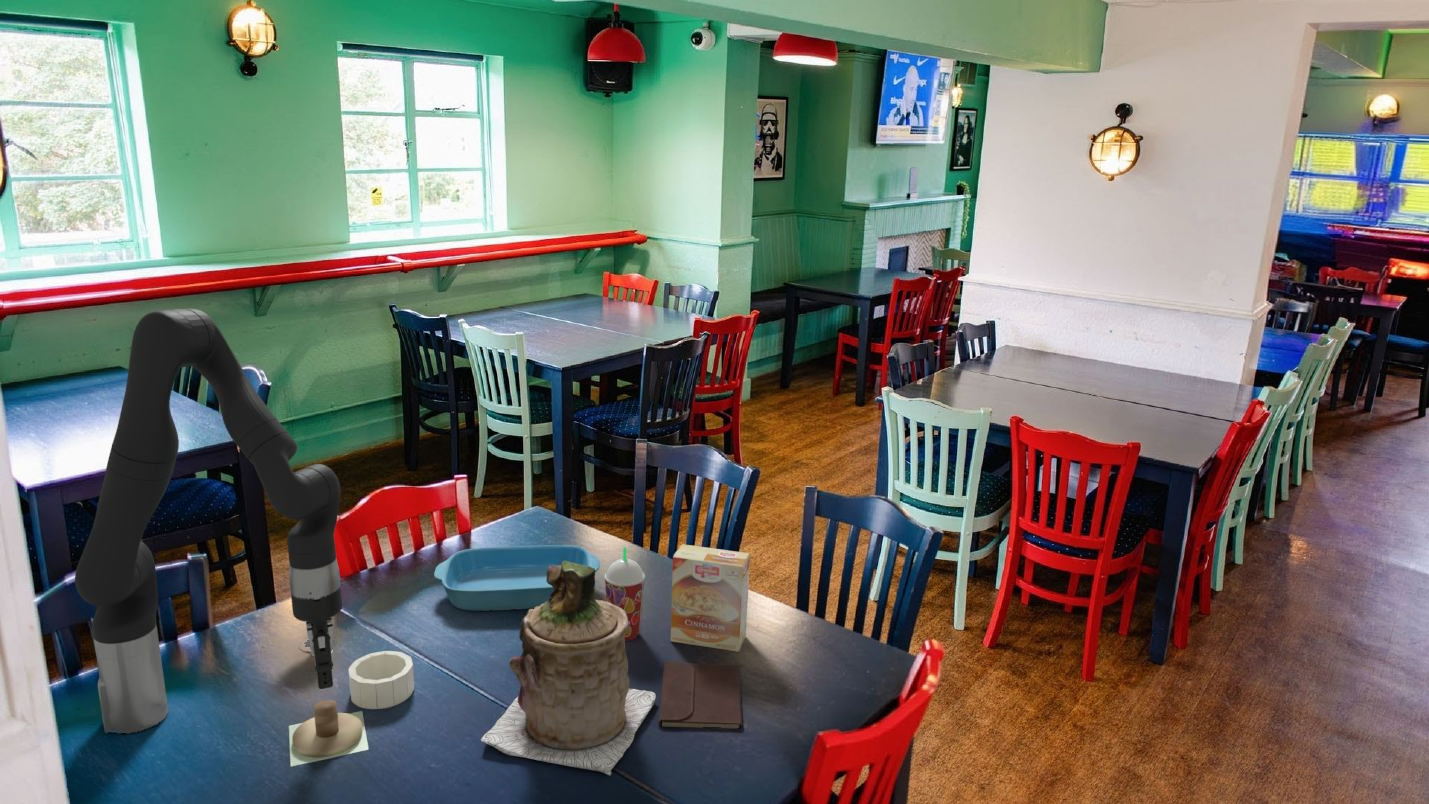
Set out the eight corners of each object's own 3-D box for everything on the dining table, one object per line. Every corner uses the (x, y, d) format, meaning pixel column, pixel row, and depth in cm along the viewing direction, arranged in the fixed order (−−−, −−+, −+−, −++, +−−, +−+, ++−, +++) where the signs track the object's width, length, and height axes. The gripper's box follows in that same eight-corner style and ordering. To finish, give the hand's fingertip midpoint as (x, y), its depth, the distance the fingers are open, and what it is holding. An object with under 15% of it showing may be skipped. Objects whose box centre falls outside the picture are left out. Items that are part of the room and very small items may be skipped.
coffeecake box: (669, 642, 198) (671, 556, 193) (678, 626, 204) (681, 542, 199) (739, 653, 194) (743, 566, 189) (746, 636, 201) (750, 552, 196)
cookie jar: (660, 700, 177) (664, 542, 169) (612, 781, 154) (613, 604, 146) (539, 677, 183) (537, 524, 175) (476, 752, 160) (469, 580, 152)
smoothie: (646, 626, 203) (648, 541, 198) (640, 646, 195) (641, 557, 190) (608, 623, 204) (609, 538, 199) (600, 643, 196) (600, 554, 191)
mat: (291, 770, 154) (290, 766, 154) (289, 729, 164) (288, 725, 164) (368, 753, 159) (368, 749, 159) (362, 714, 169) (362, 710, 169)
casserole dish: (429, 620, 203) (428, 590, 202) (441, 574, 225) (440, 547, 223) (601, 613, 209) (601, 583, 207) (597, 569, 231) (598, 542, 229)
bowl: (353, 718, 168) (351, 688, 167) (348, 686, 178) (346, 657, 176) (417, 705, 173) (416, 676, 171) (409, 674, 182) (408, 646, 181)
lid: (293, 764, 154) (290, 731, 153) (292, 726, 164) (289, 695, 162) (365, 748, 159) (362, 716, 157) (359, 713, 169) (357, 682, 167)
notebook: (739, 671, 188) (739, 662, 188) (742, 731, 169) (742, 721, 169) (663, 669, 188) (664, 660, 188) (658, 728, 169) (658, 719, 169)
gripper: (289, 572, 159) (298, 658, 163) (291, 609, 146) (301, 701, 151) (336, 564, 162) (344, 649, 166) (343, 600, 149) (351, 691, 154)
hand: (324, 674), depth 158 cm, fingers open, 8 cm apart
